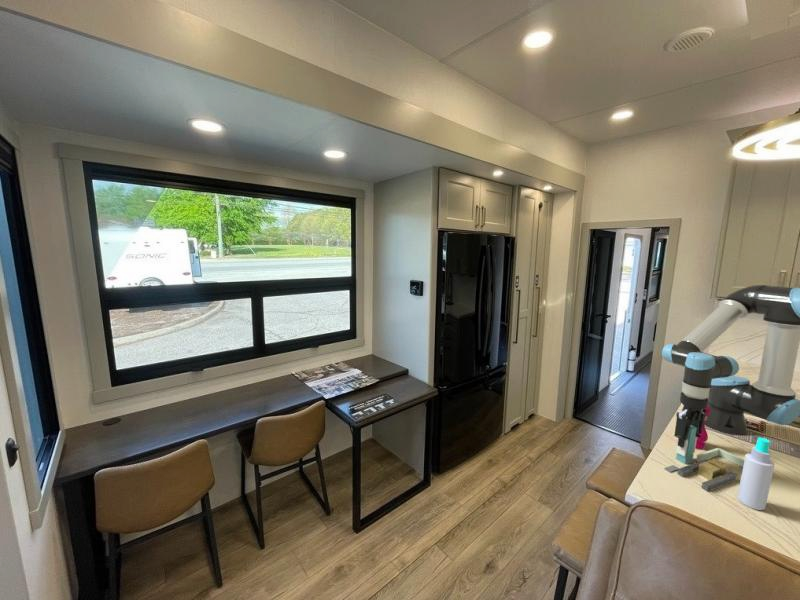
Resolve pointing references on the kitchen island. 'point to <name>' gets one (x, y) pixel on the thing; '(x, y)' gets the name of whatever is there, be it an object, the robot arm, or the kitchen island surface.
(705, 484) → the channel
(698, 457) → the pale green l-shape
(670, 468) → the mat
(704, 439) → the pepper mill
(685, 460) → the teal rectangular block
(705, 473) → the olive yellow cube
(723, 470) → the olive cube
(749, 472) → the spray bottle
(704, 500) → the kitchen island surface
